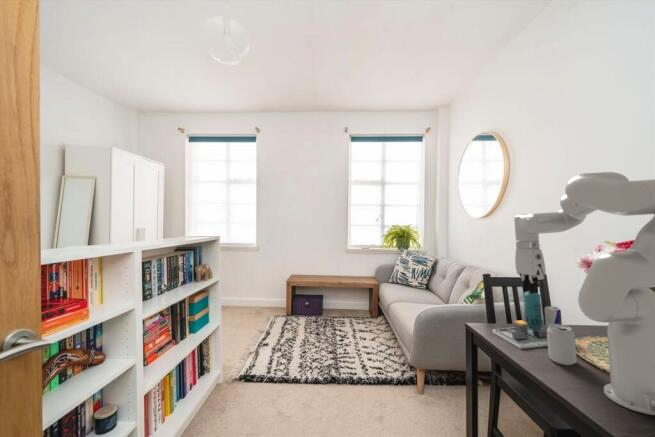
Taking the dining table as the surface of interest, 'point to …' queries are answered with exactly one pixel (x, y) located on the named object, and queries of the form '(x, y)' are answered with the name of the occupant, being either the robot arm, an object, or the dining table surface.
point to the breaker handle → (521, 326)
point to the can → (561, 344)
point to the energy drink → (552, 316)
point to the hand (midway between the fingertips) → (530, 291)
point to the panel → (523, 337)
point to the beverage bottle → (533, 310)
